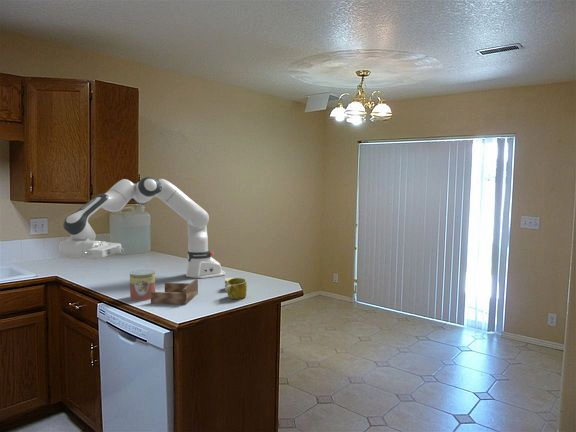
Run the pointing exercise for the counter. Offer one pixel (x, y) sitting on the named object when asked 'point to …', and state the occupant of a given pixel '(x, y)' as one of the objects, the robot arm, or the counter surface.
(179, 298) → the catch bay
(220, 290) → the counter surface
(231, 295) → the mug
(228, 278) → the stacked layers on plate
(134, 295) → the canned food
